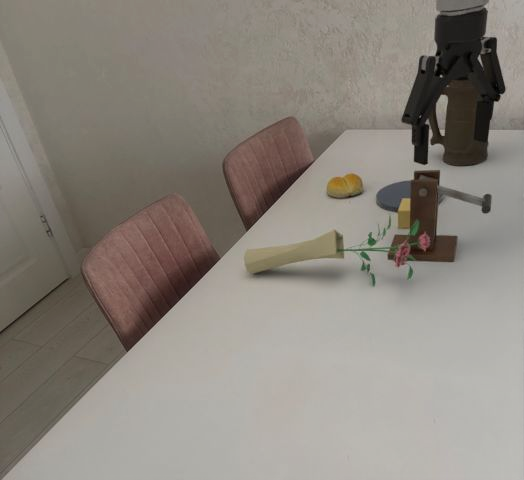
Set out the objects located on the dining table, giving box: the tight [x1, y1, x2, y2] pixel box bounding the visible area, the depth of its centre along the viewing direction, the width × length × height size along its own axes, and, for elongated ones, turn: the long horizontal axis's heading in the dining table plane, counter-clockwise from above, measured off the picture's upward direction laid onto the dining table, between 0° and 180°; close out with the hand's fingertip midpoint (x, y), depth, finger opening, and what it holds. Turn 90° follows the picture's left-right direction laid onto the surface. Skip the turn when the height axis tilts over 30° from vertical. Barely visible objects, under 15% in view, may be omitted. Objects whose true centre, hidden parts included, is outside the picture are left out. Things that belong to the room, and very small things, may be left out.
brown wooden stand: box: [387, 169, 459, 263], centre depth 92 cm, size 12×8×15 cm, turn 69°
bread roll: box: [325, 173, 364, 199], centre depth 123 cm, size 8×9×4 cm
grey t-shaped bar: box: [419, 175, 493, 215], centre depth 88 cm, size 13×5×2 cm, turn 69°
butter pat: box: [397, 198, 410, 229], centre depth 106 cm, size 6×4×4 cm
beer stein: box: [427, 69, 490, 167], centre depth 123 cm, size 15×11×20 cm
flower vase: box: [243, 215, 430, 287], centre depth 92 cm, size 12×12×35 cm
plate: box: [375, 179, 445, 213], centre depth 115 cm, size 15×15×1 cm
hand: (451, 151), depth 89 cm, fingers open, 13 cm apart
